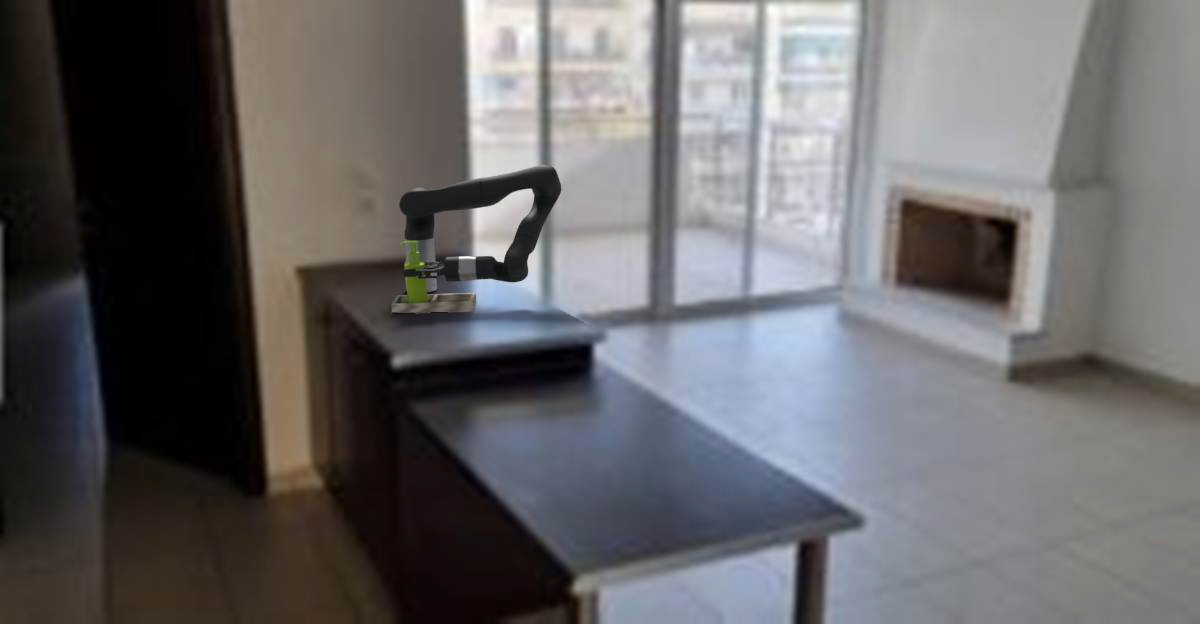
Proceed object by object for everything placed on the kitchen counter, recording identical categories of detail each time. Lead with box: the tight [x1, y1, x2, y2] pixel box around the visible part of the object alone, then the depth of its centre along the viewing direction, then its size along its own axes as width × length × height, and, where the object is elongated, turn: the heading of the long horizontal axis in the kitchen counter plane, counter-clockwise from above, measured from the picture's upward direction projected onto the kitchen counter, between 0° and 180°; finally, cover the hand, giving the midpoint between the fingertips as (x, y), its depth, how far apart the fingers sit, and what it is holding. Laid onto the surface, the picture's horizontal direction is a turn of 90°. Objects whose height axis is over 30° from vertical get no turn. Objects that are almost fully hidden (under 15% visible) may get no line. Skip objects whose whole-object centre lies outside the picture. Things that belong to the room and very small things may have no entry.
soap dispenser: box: [399, 240, 428, 303], centre depth 313 cm, size 6×7×20 cm
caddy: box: [390, 292, 477, 314], centre depth 315 cm, size 24×12×3 cm, turn 92°
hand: (405, 271), depth 312 cm, fingers closed on soap dispenser, 6 cm apart
